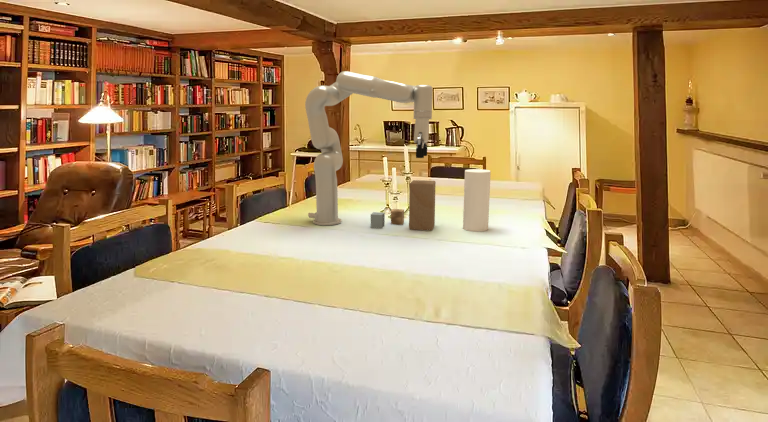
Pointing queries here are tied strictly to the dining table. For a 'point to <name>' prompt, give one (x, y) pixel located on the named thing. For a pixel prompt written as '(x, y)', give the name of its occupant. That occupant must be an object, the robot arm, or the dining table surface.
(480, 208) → the tall pillar cylinder
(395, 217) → the oak block
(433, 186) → the wooden block
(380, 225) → the slate block
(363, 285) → the dining table surface
